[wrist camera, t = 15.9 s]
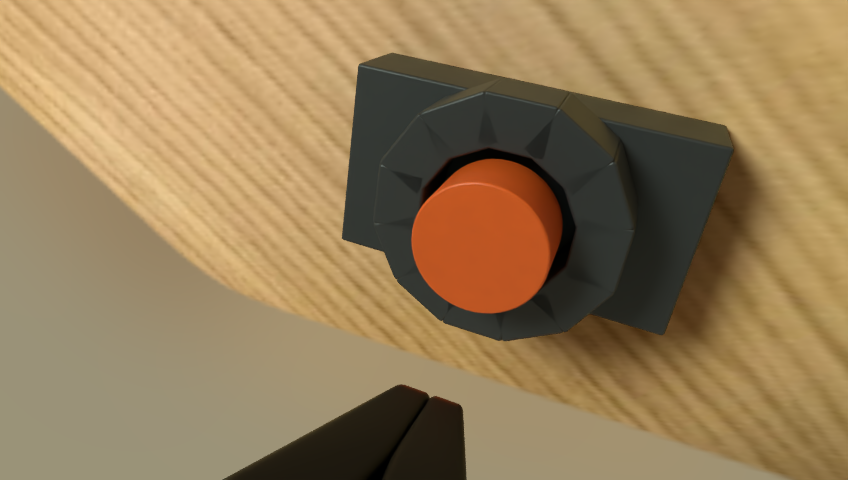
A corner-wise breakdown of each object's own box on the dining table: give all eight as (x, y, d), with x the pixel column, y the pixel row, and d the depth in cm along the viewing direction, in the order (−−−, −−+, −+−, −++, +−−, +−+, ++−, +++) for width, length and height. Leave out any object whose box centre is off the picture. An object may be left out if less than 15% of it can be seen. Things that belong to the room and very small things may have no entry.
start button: (578, 177, 14) (566, 203, 12) (546, 294, 15) (532, 332, 14) (446, 143, 14) (421, 166, 13) (427, 259, 16) (402, 291, 14)
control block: (733, 107, 15) (751, 151, 12) (659, 310, 18) (657, 393, 15) (392, 35, 18) (325, 54, 14) (370, 226, 20) (309, 280, 17)
